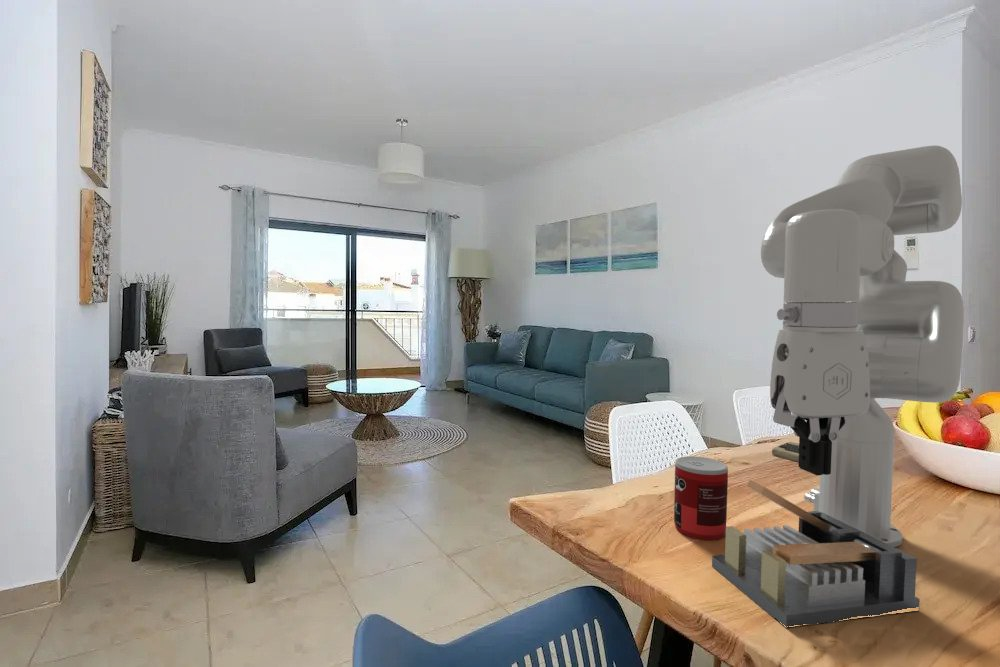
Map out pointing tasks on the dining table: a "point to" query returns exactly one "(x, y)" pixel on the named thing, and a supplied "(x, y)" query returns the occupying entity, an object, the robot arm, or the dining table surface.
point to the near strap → (826, 552)
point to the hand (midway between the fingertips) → (814, 471)
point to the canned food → (700, 497)
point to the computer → (787, 451)
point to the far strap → (791, 507)
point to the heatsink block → (817, 574)
